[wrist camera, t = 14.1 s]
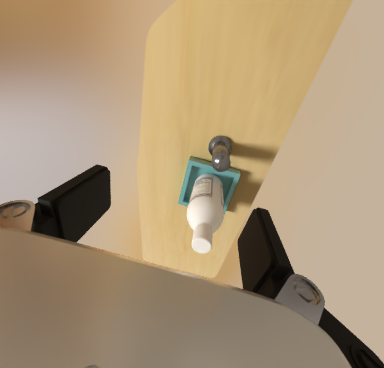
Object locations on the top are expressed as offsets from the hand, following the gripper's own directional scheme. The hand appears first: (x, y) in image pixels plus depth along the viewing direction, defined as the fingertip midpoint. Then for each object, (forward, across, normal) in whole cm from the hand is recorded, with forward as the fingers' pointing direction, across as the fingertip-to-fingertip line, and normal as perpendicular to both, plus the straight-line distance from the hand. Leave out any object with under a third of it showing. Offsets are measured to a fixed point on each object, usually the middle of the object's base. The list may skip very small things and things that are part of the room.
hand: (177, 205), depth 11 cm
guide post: (+30, -4, +3) cm, 30 cm away
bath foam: (+29, -4, +13) cm, 32 cm away
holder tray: (+29, -4, +13) cm, 33 cm away
